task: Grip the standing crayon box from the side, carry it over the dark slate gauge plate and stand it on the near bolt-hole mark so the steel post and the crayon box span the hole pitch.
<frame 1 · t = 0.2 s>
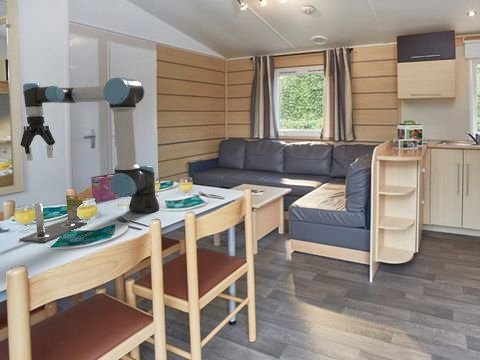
hand: (40, 159, 194), 27 cm above the table, tool pointing down, fingers open, 13 cm apart
gum box: (112, 197, 232), on the table
gauge plate: (55, 232, 164), on the table
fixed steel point: (41, 238, 157), resting on gauge plate
crayon box: (76, 219, 185), on the table
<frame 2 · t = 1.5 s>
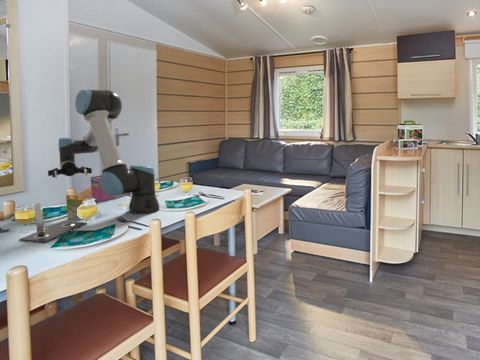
hand: (71, 174, 189), 20 cm above the table, tool horizontal, fingers open, 13 cm apart
nothing on the table moved.
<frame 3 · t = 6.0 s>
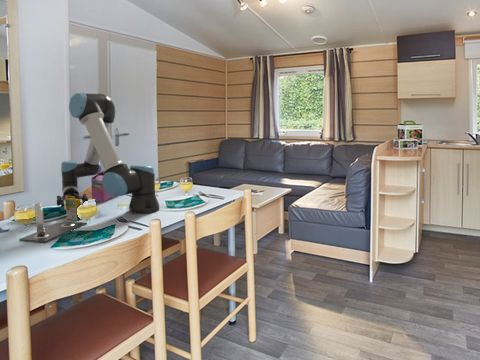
hand: (73, 205, 180), 7 cm above the table, tool horizontal, fingers closed on crayon box, 6 cm apart
gum box: (109, 193, 229), point 3 cm above the table, touching arm
crayon box: (74, 219, 184), on the table, touching gripper
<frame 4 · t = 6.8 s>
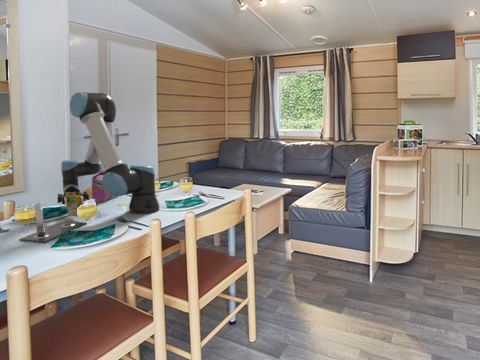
hand: (74, 202, 179), 9 cm above the table, tool horizontal, fingers closed on crayon box, 6 cm apart
gum box: (109, 192, 229), point 3 cm above the table
crayon box: (75, 216, 183), point 2 cm above the table, touching gripper
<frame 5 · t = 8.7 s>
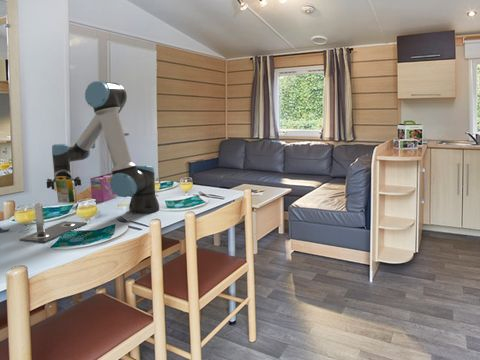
hand: (64, 186, 164), 19 cm above the table, tool horizontal, fingers closed on crayon box, 6 cm apart
gum box: (109, 198, 230), on the table
crayon box: (66, 202, 169), point 11 cm above the table, touching gripper
when the fingers open (8 cm above the table, at t = 11.4 s): crayon box stays where it is, resting on gauge plate.
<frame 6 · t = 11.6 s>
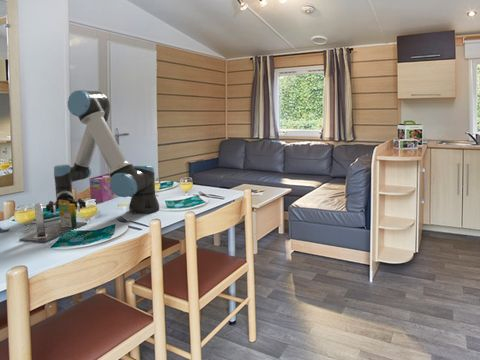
hand: (66, 210, 166), 9 cm above the table, tool horizontal, fingers open, 9 cm apart
crayon box: (68, 226, 170), point 1 cm above the table, touching gauge plate
everything else where it was.
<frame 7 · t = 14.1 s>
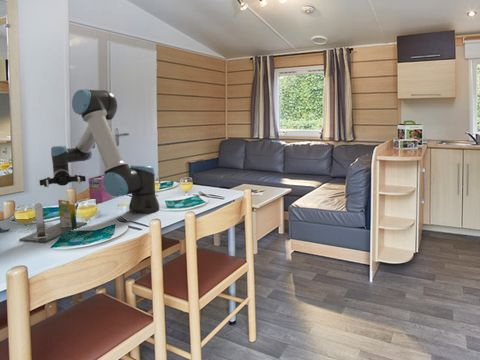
hand: (63, 182, 181), 18 cm above the table, tool horizontal, fingers open, 13 cm apart
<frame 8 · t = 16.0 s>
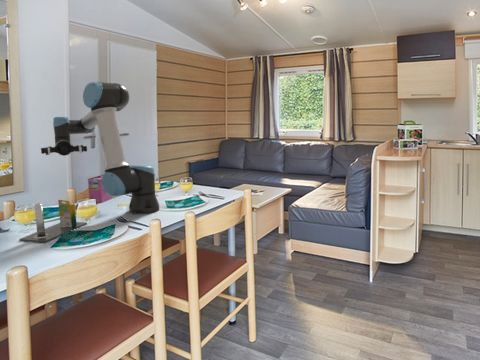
hand: (65, 151, 181), 32 cm above the table, tool horizontal, fingers open, 13 cm apart
at the end: crayon box 1.7 cm from the target spot, point 0.7 cm above the table; crayon box tilted 0°; the gripper is holding nothing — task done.
